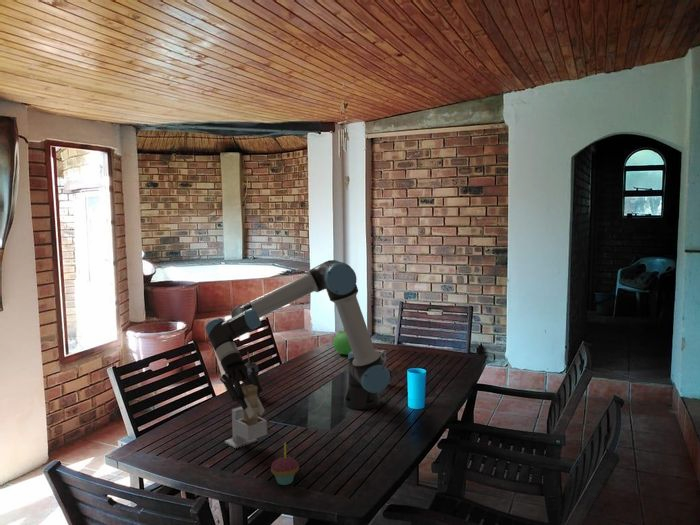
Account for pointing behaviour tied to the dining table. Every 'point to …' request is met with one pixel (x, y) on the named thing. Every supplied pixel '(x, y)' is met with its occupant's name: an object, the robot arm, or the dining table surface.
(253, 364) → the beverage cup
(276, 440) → the dining table surface
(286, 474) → the cupcake
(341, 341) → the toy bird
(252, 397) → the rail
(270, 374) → the dining table surface
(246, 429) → the bracket
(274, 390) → the dining table surface
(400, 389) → the dining table surface
